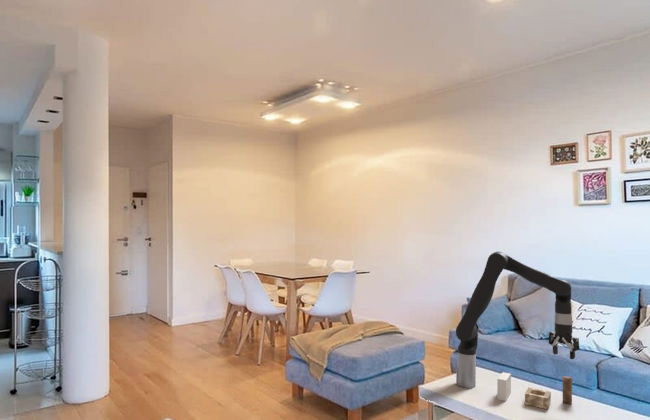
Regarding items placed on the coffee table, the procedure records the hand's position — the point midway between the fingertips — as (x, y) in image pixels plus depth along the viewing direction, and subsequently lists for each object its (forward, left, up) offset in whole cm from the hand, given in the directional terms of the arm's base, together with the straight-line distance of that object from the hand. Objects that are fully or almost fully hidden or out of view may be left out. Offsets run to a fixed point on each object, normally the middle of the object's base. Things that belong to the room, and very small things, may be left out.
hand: (563, 356), depth 213 cm
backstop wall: (-26, -4, -23) cm, 35 cm away
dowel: (+1, +6, -23) cm, 24 cm away
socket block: (-11, -4, -23) cm, 26 cm away
